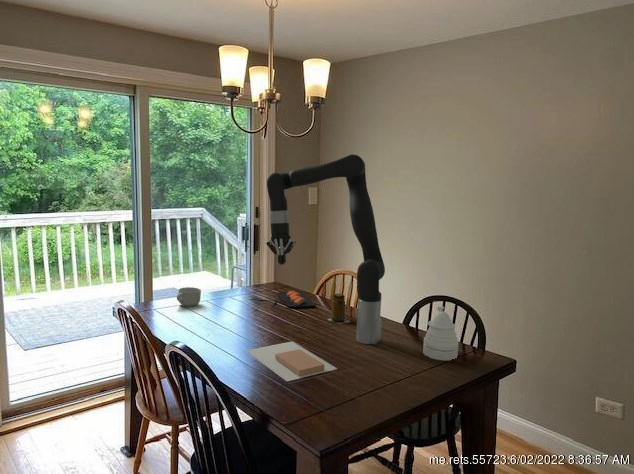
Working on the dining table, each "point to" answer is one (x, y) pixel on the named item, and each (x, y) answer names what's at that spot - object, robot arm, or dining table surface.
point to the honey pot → (441, 338)
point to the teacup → (189, 296)
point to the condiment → (338, 309)
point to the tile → (299, 362)
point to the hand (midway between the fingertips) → (282, 264)
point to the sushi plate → (293, 299)
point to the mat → (268, 359)
